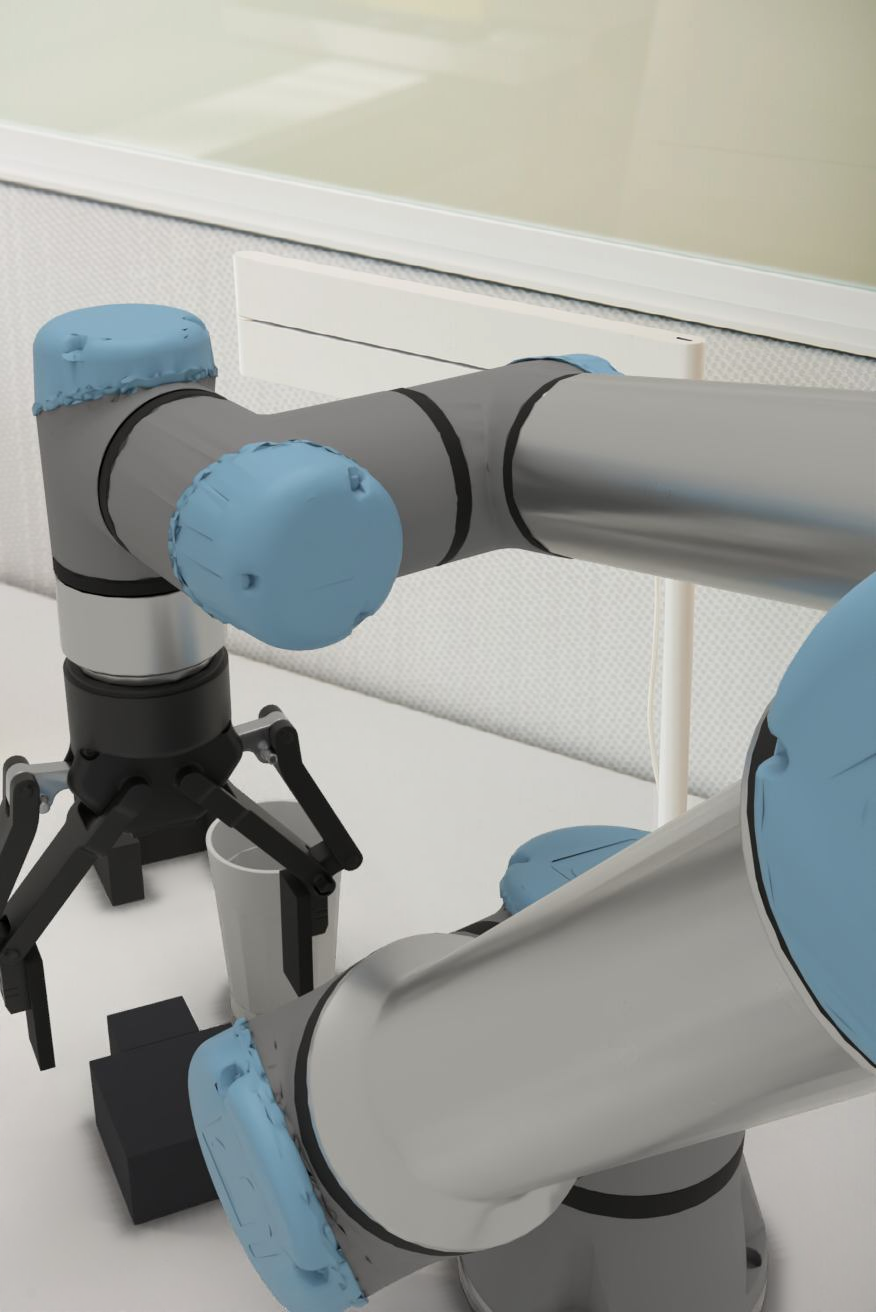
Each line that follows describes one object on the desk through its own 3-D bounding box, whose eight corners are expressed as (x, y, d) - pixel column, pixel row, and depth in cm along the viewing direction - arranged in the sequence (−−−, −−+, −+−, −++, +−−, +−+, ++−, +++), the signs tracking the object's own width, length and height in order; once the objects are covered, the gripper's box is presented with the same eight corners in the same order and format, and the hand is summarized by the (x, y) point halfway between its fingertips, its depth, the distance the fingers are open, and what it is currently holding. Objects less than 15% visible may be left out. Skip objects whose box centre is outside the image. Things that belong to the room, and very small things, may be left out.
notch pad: (255, 872, 112) (252, 816, 110) (112, 906, 108) (106, 849, 106) (212, 802, 120) (208, 749, 118) (77, 832, 116) (71, 777, 114)
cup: (329, 1051, 95) (324, 880, 90) (199, 1033, 96) (186, 863, 91) (362, 969, 102) (359, 806, 97) (240, 953, 103) (230, 791, 98)
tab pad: (282, 1178, 86) (279, 1112, 84) (134, 1225, 83) (127, 1158, 81) (217, 1048, 95) (212, 986, 93) (81, 1086, 92) (74, 1023, 90)
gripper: (367, 575, 82) (370, 920, 92) (-150, 663, 73) (-86, 1037, 82) (427, 635, 76) (424, 997, 86) (-128, 740, 67) (-62, 1133, 76)
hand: (174, 1017), depth 84 cm, fingers open, 13 cm apart
